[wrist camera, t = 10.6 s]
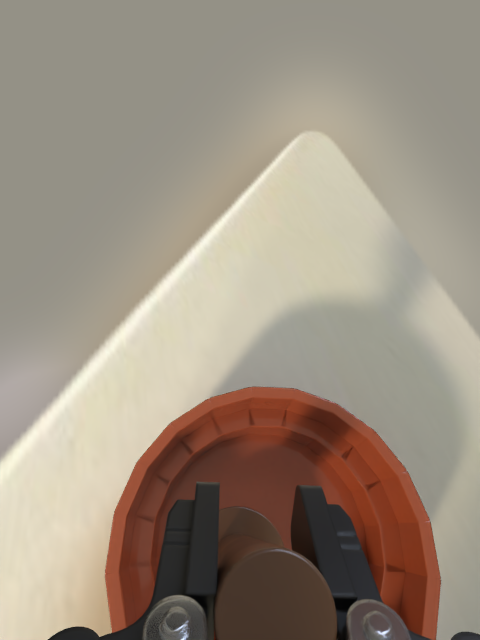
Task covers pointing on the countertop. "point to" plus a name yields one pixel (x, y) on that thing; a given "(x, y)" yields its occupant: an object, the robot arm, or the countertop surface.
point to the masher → (267, 585)
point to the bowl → (277, 493)
